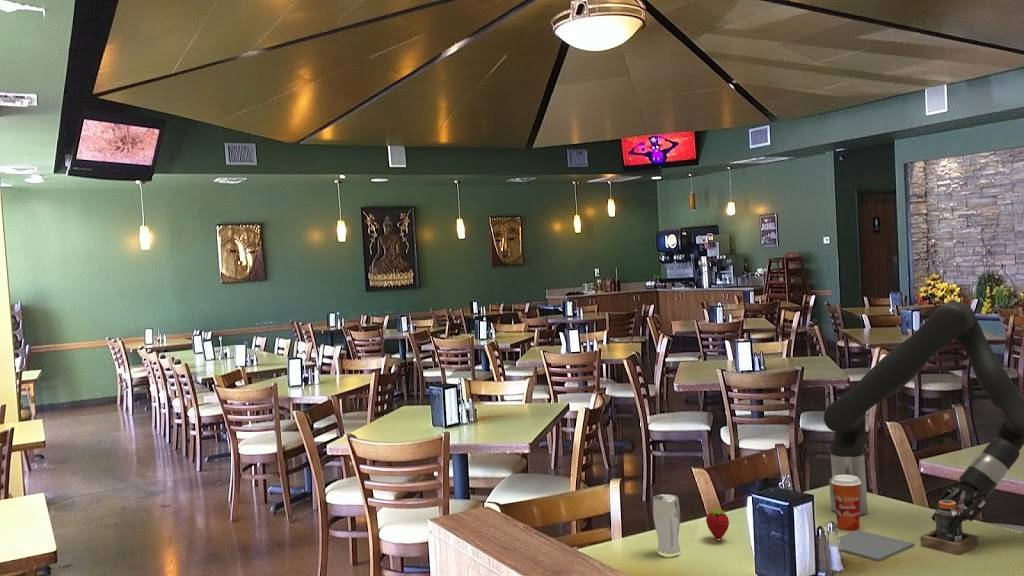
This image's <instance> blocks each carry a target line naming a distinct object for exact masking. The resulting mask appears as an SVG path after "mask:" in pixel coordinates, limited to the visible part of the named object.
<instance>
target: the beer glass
mask: <svg viewBox="0 0 1024 576" xmlns="http://www.w3.org/2000/svg"><path fill="white" fill-rule="evenodd" d="M679 503H680V502H679V497H678V495H674V494H667V493H666V494H657V495H655V496H653V497H652V514H653V522H654V526H655V531H656V535H657V541H658V545H657V546H658V547H657V552H658V551H659V552H661V553H666V554H674V553H678V552H680V551H681V548H680V543H679V542H680V541H679V536H680V535H679V533H680V525H681V524H680V523H681V512H680V511H681V509H680V504H679Z"/></svg>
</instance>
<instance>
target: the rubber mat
mask: <svg viewBox="0 0 1024 576" xmlns="http://www.w3.org/2000/svg"><path fill="white" fill-rule="evenodd" d="M839 540H840V547H841V551H840V552H842V551H843V552H844V553H846V552H847V554H851V555H854V556H857V555H858V557H861V558H865V559H869V560H872V561H876V562H880V561H882V560H883V561H884V559H887V558H890V557H891V556H894V555H896V554H897V555H898V554H899V553H901V552H903V551H905V550H908V549H911V548H912V547H915V543H913V542H909V541H905V540H902V539H897V538H892V537H889V536H884V535H881V534H876V533H873V532H869V531H863V530H859V529H858V530H853V531H851V532H849V533H847V534H844V535H842V536H839ZM843 552H842V553H843Z"/></svg>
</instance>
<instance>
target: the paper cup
mask: <svg viewBox="0 0 1024 576" xmlns="http://www.w3.org/2000/svg"><path fill="white" fill-rule="evenodd" d="M831 483H833V491H834V499H835V507H836V512H835V513H836V522H837V527H838V528H839V529H840V530H842V529H844V530H843V531H856V530H857V529H858V530H859V529H860V525H861V523H860V522H861V519H860V518H861V515H860V484H861V481H860V479H858V477H856V476H853V475H836V476H834V477H833V479H832V481H831Z"/></svg>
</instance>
